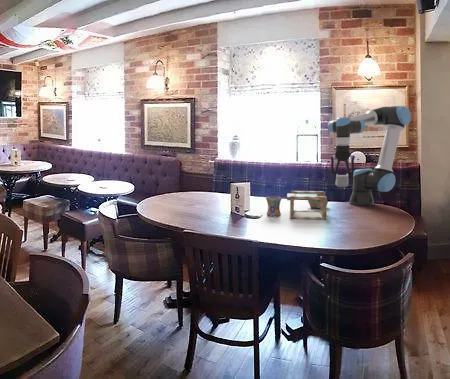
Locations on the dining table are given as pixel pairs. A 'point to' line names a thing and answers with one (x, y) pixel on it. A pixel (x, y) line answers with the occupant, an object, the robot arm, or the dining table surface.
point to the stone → (342, 181)
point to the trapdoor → (298, 195)
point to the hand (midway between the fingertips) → (341, 185)
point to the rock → (315, 202)
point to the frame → (322, 198)
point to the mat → (307, 214)
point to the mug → (273, 206)
